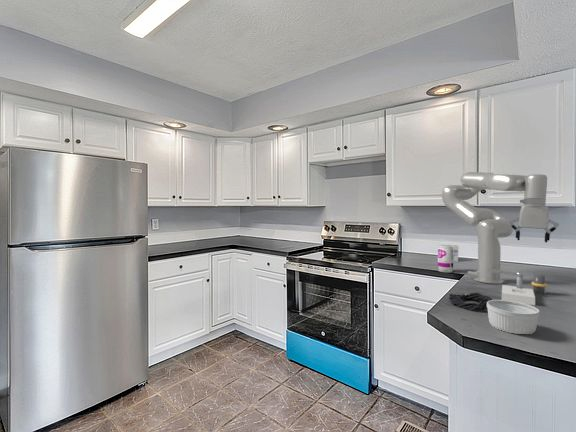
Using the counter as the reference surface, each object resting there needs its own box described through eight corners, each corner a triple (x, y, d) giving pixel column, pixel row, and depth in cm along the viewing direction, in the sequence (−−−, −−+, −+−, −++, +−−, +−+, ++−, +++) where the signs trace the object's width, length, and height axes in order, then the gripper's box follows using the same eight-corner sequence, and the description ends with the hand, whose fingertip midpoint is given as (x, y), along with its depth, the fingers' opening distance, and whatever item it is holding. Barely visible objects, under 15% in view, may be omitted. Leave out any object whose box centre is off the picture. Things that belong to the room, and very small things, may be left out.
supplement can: (444, 273, 175) (445, 247, 174) (434, 270, 183) (434, 245, 182) (456, 272, 177) (456, 246, 177) (445, 269, 185) (446, 244, 184)
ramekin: (547, 340, 86) (547, 316, 86) (492, 333, 91) (492, 310, 90) (529, 323, 98) (530, 302, 98) (482, 318, 103) (482, 297, 103)
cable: (495, 315, 107) (495, 303, 106) (449, 309, 113) (450, 297, 113) (487, 301, 122) (488, 291, 122) (448, 297, 128) (448, 286, 128)
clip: (489, 271, 140) (489, 267, 140) (523, 275, 131) (524, 271, 131) (488, 272, 138) (488, 268, 138) (523, 276, 129) (523, 272, 129)
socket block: (501, 300, 123) (502, 280, 123) (502, 291, 136) (502, 273, 136) (535, 305, 117) (535, 284, 117) (532, 295, 130) (532, 276, 130)
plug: (531, 293, 133) (532, 275, 133) (530, 291, 137) (531, 273, 137) (547, 295, 130) (547, 277, 130) (546, 293, 134) (546, 274, 134)
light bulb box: (441, 260, 218) (441, 245, 217) (440, 259, 224) (441, 244, 223) (458, 261, 213) (458, 246, 213) (457, 260, 220) (457, 245, 219)
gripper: (510, 202, 137) (508, 240, 138) (561, 203, 127) (558, 244, 128) (510, 202, 143) (507, 238, 144) (559, 203, 133) (556, 242, 134)
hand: (531, 241), depth 136 cm, fingers open, 9 cm apart
